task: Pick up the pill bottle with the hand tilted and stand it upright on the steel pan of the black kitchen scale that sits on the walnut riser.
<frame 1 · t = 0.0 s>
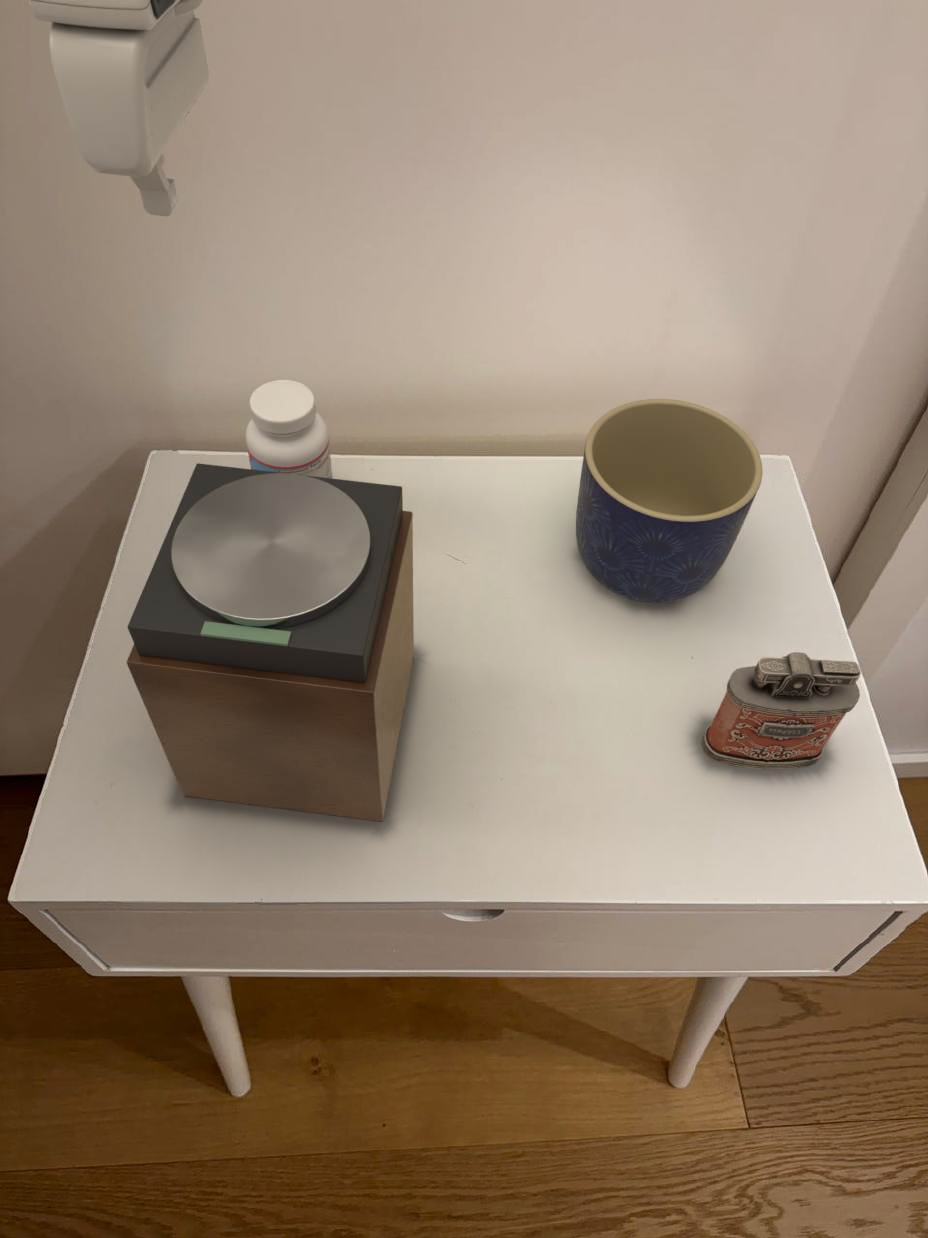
hand: (184, 173, 65), 23 cm above the nightstand, tool pointing down, fingers open, 8 cm apart
kitchen scale: (279, 581, 53), resting on walnut riser
planter: (644, 560, 75), on the nightstand
walnut riser: (304, 722, 65), on the nightstand
lighter: (759, 748, 65), on the nightstand
pill bottle: (297, 511, 77), on the nightstand
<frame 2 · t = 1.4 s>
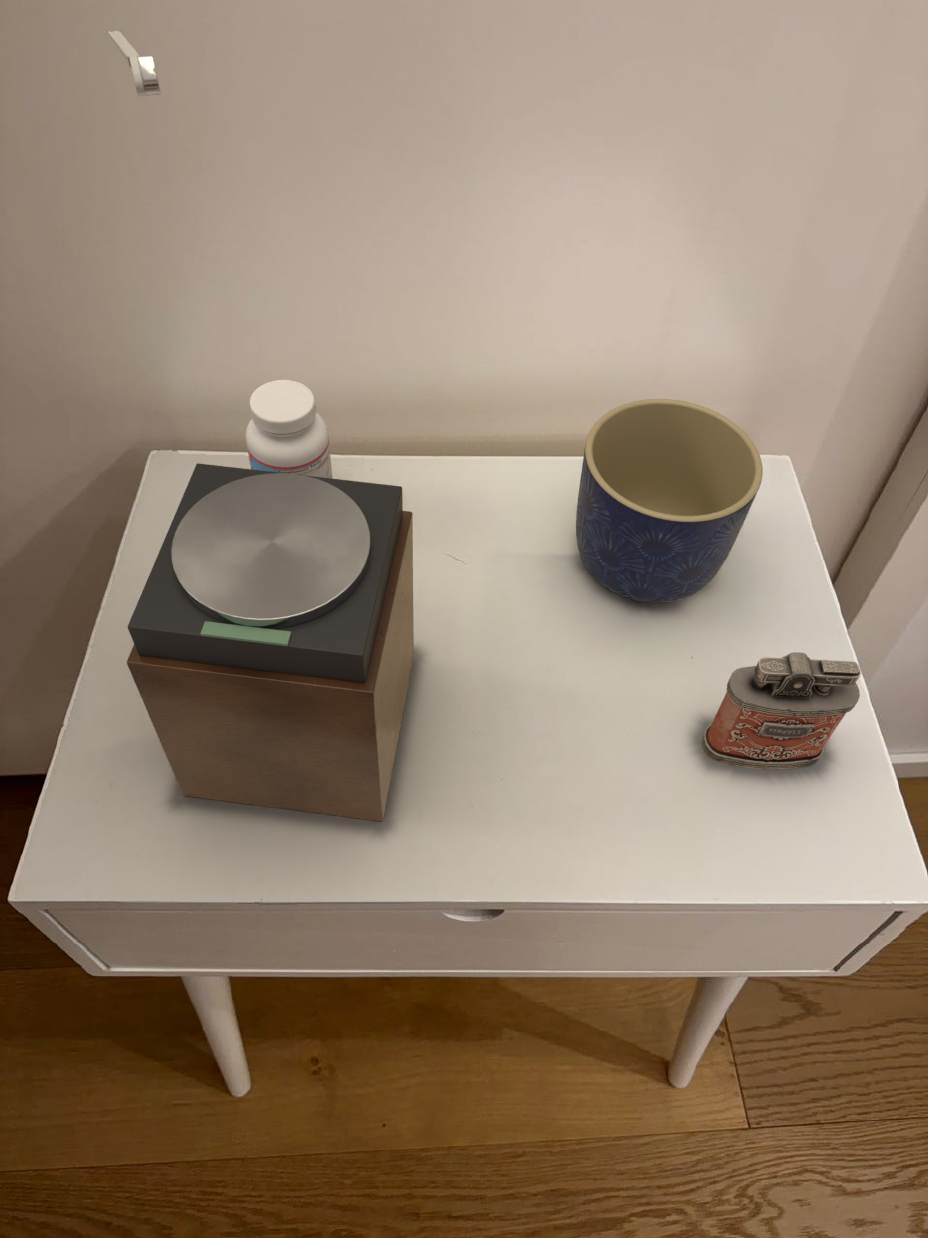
hand: (222, 85, 62), 27 cm above the nightstand, tool tilted 45°, fingers open, 8 cm apart
nothing on the nightstand moved.
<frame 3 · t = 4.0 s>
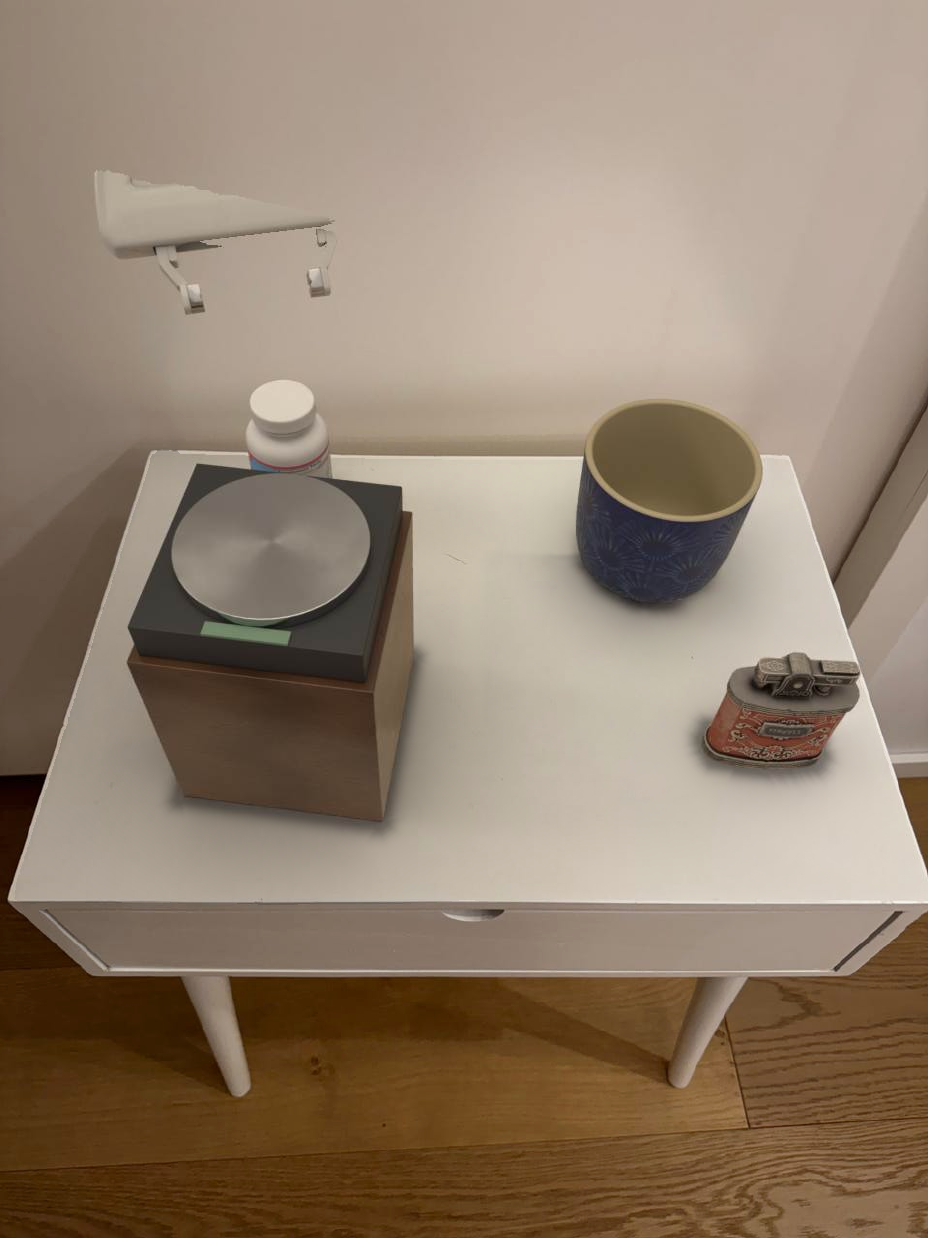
hand: (258, 303, 72), 13 cm above the nightstand, tool tilted 45°, fingers open, 8 cm apart
nothing on the nightstand moved.
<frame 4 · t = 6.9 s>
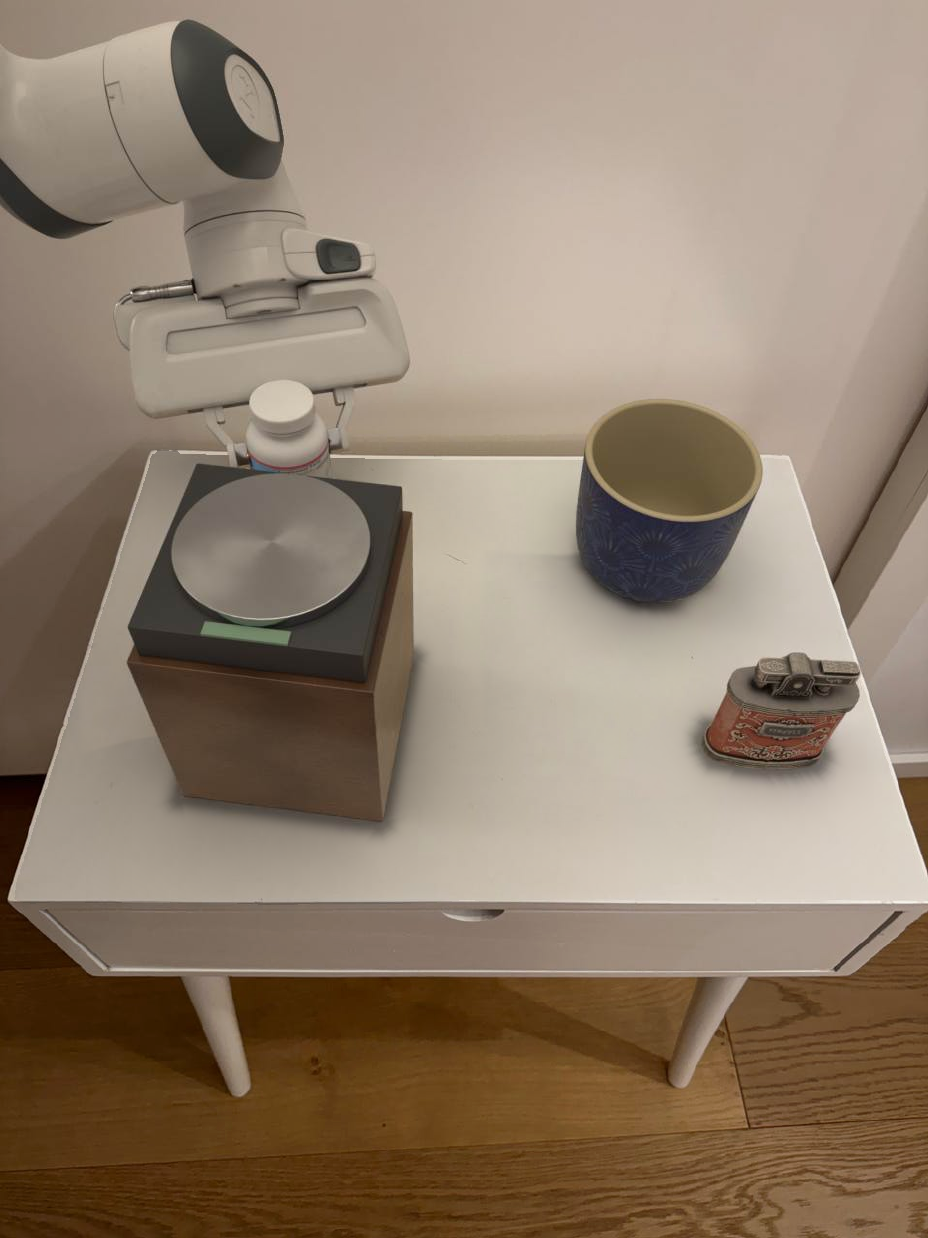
hand: (291, 460, 72), 6 cm above the nightstand, tool tilted 45°, fingers closed on pill bottle, 6 cm apart
pill bottle: (297, 511, 77), on the nightstand, touching gripper
everything else where it was.
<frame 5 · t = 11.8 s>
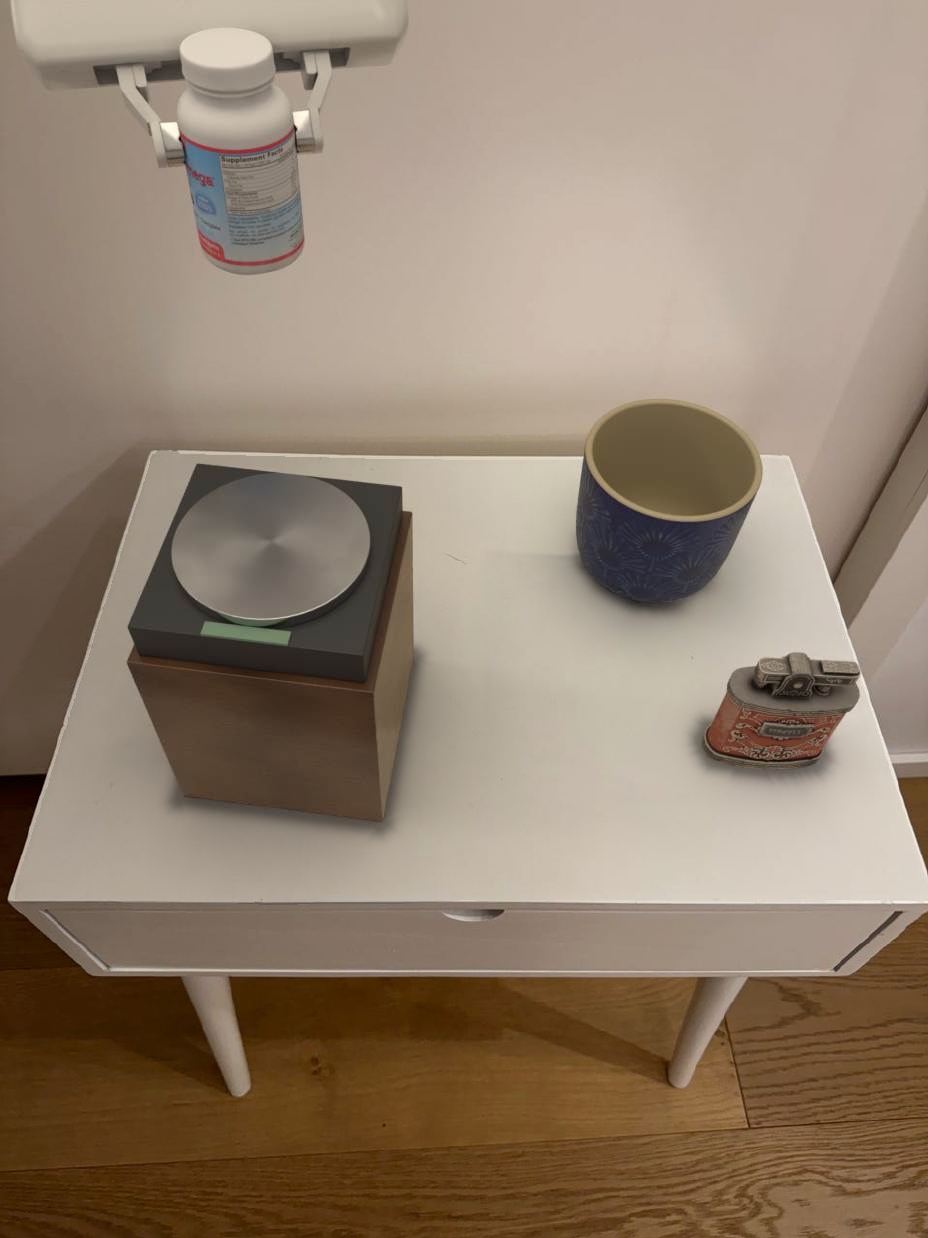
hand: (242, 157, 52), 30 cm above the nightstand, tool tilted 45°, fingers closed on pill bottle, 6 cm apart
pill bottle: (254, 253, 57), point 24 cm above the nightstand, touching gripper
everything else where it was.
when the fingers open (24 cm above the nightstand, at t = 16.9 s): pill bottle stays where it is, resting on kitchen scale.
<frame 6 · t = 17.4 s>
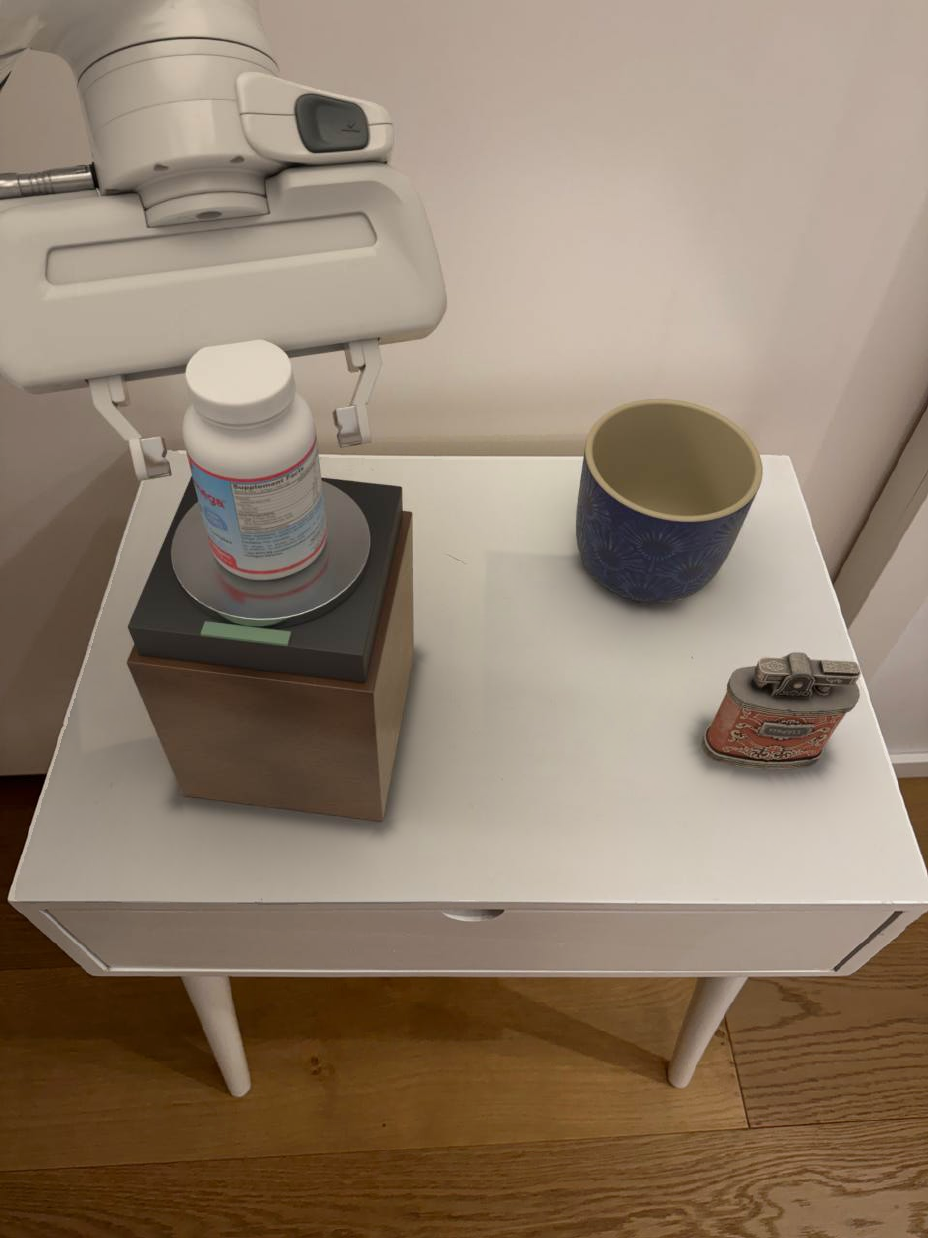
hand: (257, 461, 45), 25 cm above the nightstand, tool tilted 45°, fingers open, 8 cm apart
pill bottle: (270, 544, 51), point 18 cm above the nightstand, touching kitchen scale
everything else where it was.
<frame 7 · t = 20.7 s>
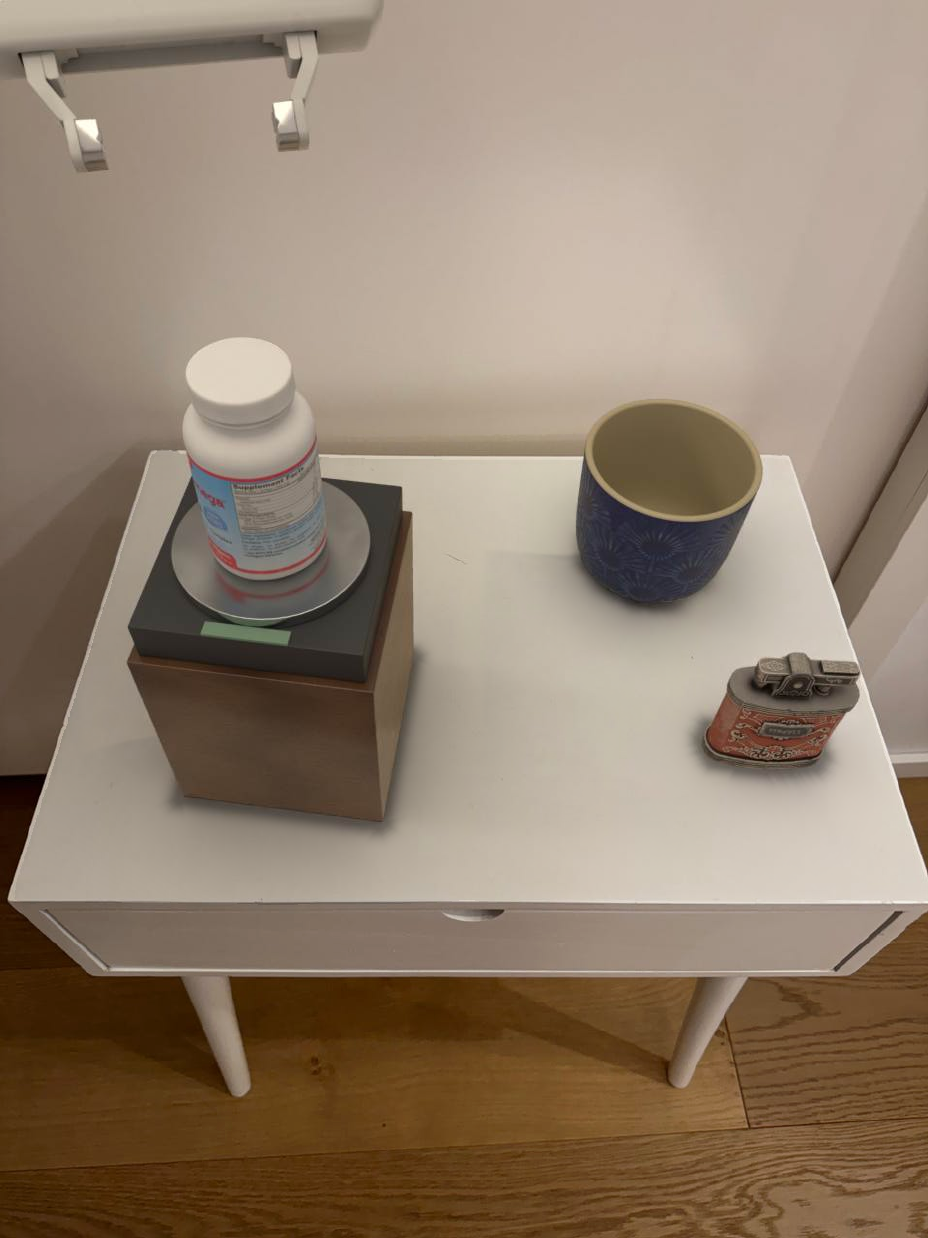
hand: (194, 157, 45), 33 cm above the nightstand, tool tilted 45°, fingers open, 8 cm apart
nothing on the nightstand moved.
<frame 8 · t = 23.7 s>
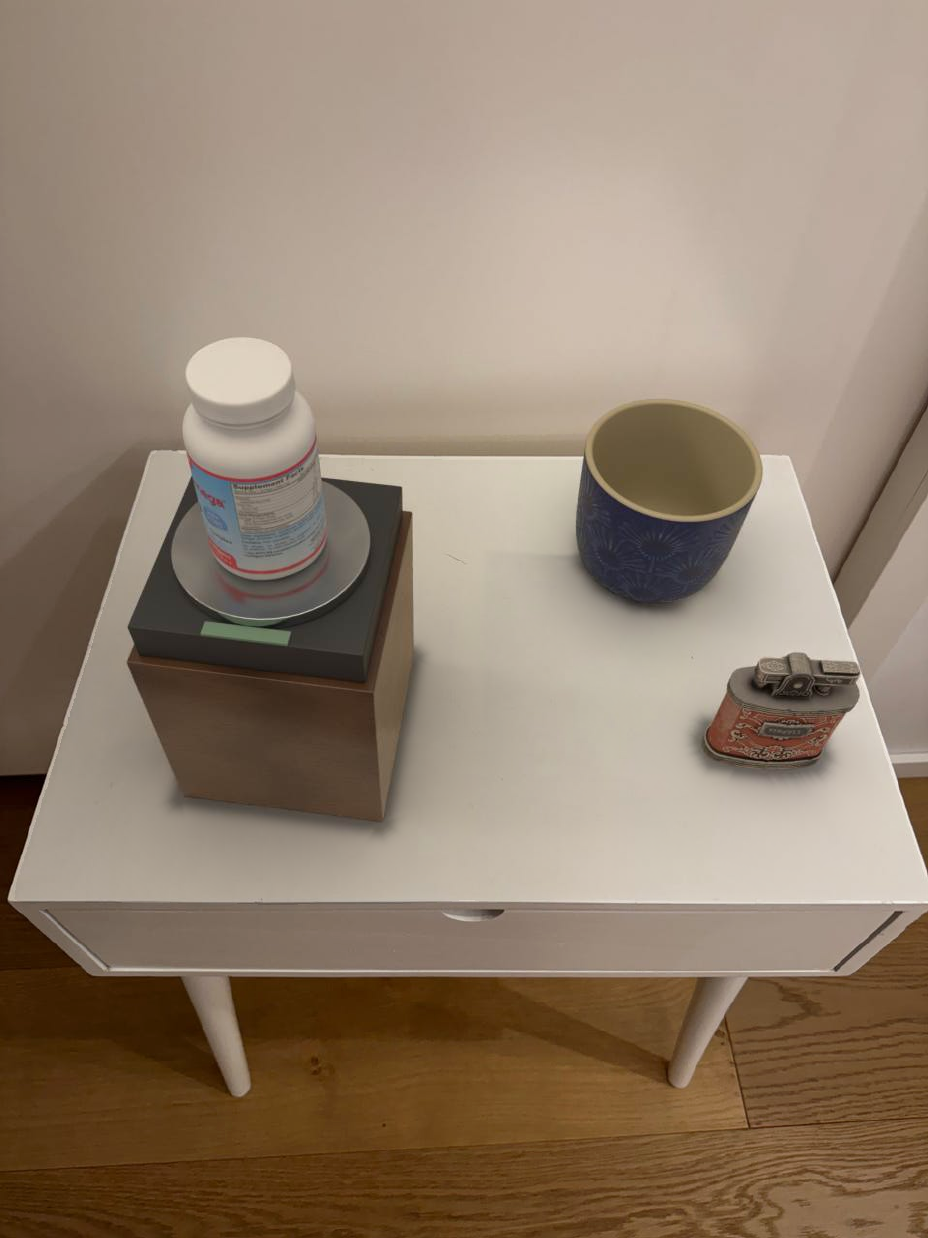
nothing on the nightstand moved.
at the end: pill bottle inside the target area on the kitchen scale (0.1 cm from its centre), point 3.1 cm above the kitchen scale's base; pill bottle tilted 0°; the gripper is holding nothing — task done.
